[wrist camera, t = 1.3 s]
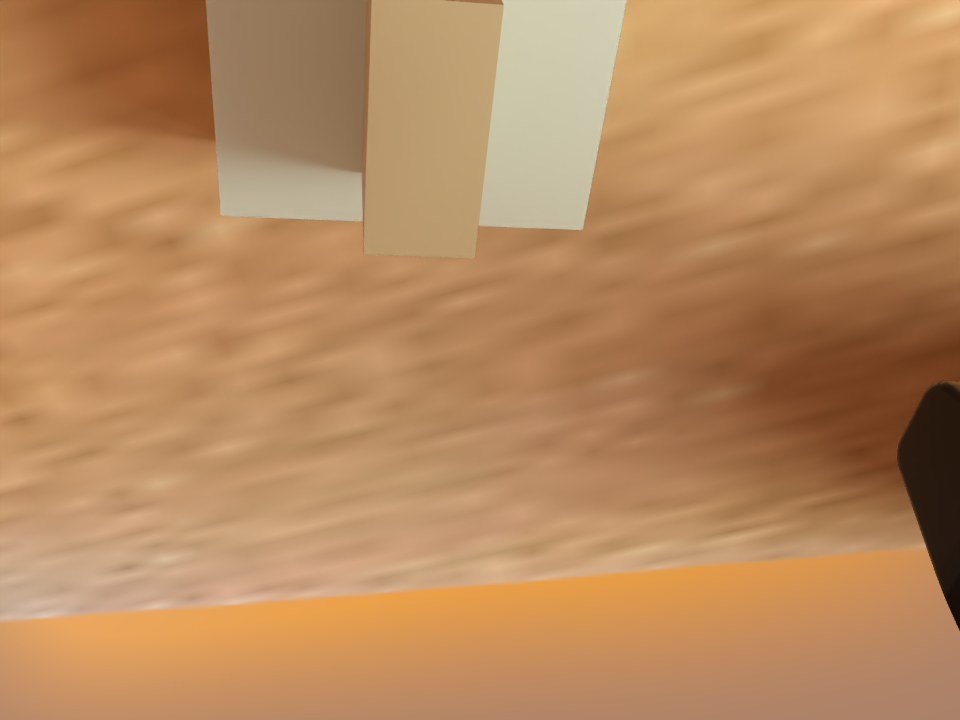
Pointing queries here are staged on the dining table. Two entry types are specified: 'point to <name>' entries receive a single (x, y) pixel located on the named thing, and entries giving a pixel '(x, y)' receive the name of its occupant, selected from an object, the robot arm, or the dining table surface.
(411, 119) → the square base with post
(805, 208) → the dining table surface
